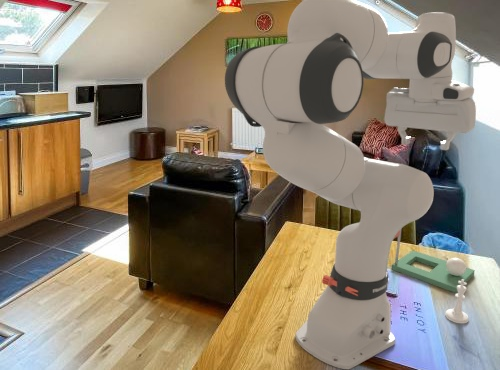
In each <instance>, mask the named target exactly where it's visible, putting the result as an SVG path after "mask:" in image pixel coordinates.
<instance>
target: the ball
mask: <svg viewBox="0 0 500 370" xmlns="http://www.w3.org/2000/svg"><path fill="white" fill-rule="evenodd" d="M446 261H447V263H446V269H447V271H448V272H449V273H450V274H451V275H454V276H460V275H462V274H464V273H465V271H466V268H467V265H466V262H465V261H464V260H463V259H461V258H459V257H450V258H449V259H448V260H446Z"/></svg>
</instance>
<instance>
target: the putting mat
mask: <svg viewBox="0 0 500 370" xmlns="http://www.w3.org/2000/svg"><path fill="white" fill-rule="evenodd" d="M402 228H403V227H402ZM402 228H401V229H400V230H399V231H398V232H397V234H396V235H395V237H394V239H396V238H397V243H396V251H395V252H396V253H395V258H394V259H395V261H394V262H393V263H392V264H391V270H394V271H396V272H398V273H400V274H403V275H407V276H409V277H412V278H413V279H417V280H420V281H422V282H424V283H428V284H431V285H433V286H436V287H438V288H441V289H444V290H445V291H446V290H447V291H449V292H452V293H455V294H458V290H457V286H458V285H461V284H460V283H458V281H462V279H464V282H465V283H468V282H469V280H471V279H472V278H473V277H474V275H475V271H476V270H475V269H473V268H469V267H466V271H465V273H464V274H462V275H460V276H454V275H451V274H450V273H449V272H448V271H447V269H446V263H447V261H448V260H445V259H441V258H438V257H435V256H432V255H428V254H425V253H424V252H423V253H422V252H419V251H416V250H412V251H410V252H408V253H407V254H405V255H404V256H403V257H400V258H399V254H400V245H401V238H402ZM414 262H417V263H421V264H424V265H426V266H430V267H433V269H431V270H430V271H429V270H428V271H427V270H424V269H422V268H419V267H416V266H413V265H411V264H413V263H414Z"/></svg>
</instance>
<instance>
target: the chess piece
mask: <svg viewBox="0 0 500 370" xmlns="http://www.w3.org/2000/svg"><path fill="white" fill-rule="evenodd" d="M458 283H460V284H461V285H458V286H457V290H458V292H457V293H455V295H454V297H455V298H456V302H455V305H454V307H453V308H449V309H447V310H445V317H446V319H448V320H449V321H451V322H454V323H455V324H467V323H468V322H469V315H468V314H467V313H466V312H465V311H463V300H465V299H466V296H465V295H464V294H465V293H466V291H467V284H468V282H466V283H465V282H464V279H462V281H458Z"/></svg>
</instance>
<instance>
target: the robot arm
mask: <svg viewBox="0 0 500 370" xmlns="http://www.w3.org/2000/svg"><path fill="white" fill-rule="evenodd" d="M456 30H457V29H456V17H455V16H454V15H453V14H452V13H449V12H440V11H436V12H435V11H434V12H432V11H431V12H427V13H426V12H425V13H422V14H420V15H419V16H418V17H417V19H416V22H415V26H414V29H411V31H399V32H389V30H388V25H387V22H386V19H385V18H384V16H382V14H381V13H380V12H379V11H378V10H377V9H375V8H373V7H372V6H370V5H368V4H365V3H363V2H360V1H357V0H302V1H301V2H300V3H299V4H298V5H297V6H296V7H295V8H294V10H293V11H292V13H291V15H290V17H289V20H288V24H287V31H286V32H287V33H286V34H287V41H286V43H276V44H271V45H269V44H268V45H266V46H252V47H249V48H245V49H243V50H242V51H240V52H238V53H236V54H235V55H234V56H233V57H232V58H231V60H230V61H229V62H228V64H227V67H226V69H225V73H224V87H225V90H226V94H227V96H228V99H229V100H230V102H231V103H232V105H233V106H234V107H235V108H236V109H237V110H238V111H239V112H240V114H242V115H243V118H244V119H245V120H246V122H247V123H248V124H249V126H251V127H254V128H258V127H259V128H260V127H261V128H263V130H264V139H263V142H262V153H263V157H264V161H265V162H266V164H267V165H268V167H270V169H271V170H273V171H274V172H275V173H276V174H278V175H279V176H280V177H282V178H283V179H285V180H286V181H288V182H290V183H291V184H293V185H294V186H297V187H298V188H301V189H304V190H306V191H309V192H311V193H314V194H316V195H317V196H319V197H321V198H323V199H325V200H326V201H328V202H331V203H332V204H334V205H338V206H342V207H345V208H348V209H352V210H356V211H359V212H360V220H359V222H356V223H351V224H349V225H346V226H344V227H343V228H342V229H341V230H340V231H339V233H338V234H337V236H336V238H335V239H336V243H335V254H334V255H335V256H334V257H335V258H334V263H333V265H332V269H331V270H330V275H328V274H325V275H323V276H322V278H321V279H322V281H321V283H322V284H323V285H326V287H325V289H324V290H323V291H322V293H321V295H320V296H319V298H318V299H317V301H316V302H315V303H314V305H313V307H312V308H311V310H310V311H309V314H308V316H307V317H308V318H307V320H306V321H305V322H304V323H303V324H302V326H301V327H299V329H298V330H297V331H296V332H295V336H294V337H295V341H296V342H297V343H298V344H299V346H300V347H302V349H303V350H305V351H306V352H307V353H308V354H310V355H311V356H313V357H314V358H316V359H317V360H320V361H321V362H323V363H325V364H327V365H330V366H332V367H334V368H338V369H340V370H341V369H343V370H350V369H353V368H354V367H356V366H358V365H360V364H361V363H362V364H363V362H365V361H367V360H369V359H371V358H373V357H374V356H375V355H378V354H381V352H383V351H385V350H387V349H389V348H390V347H392V346H394V345H395V344H396V338H395V335H394V334H393V333H392V331H391V330H392V329H391V327H392V325H391V323H392V322H391V321H392V304H391V302H390V300H389V297H388V296H387V290H388V285H389V282H390V281H389V272H388V264H389V257H390V251H391V246H392V244H393V242H394V241H393V240H394V239H395V238H394V237H395V235H396V234H397V232H398V231H399V230H400V229H401V228H404V227H405V226H406V225H408V224H410V223H412V222H415V221H418V220H419V219H420V218H422V217H423V216H424V215H425V214H427V212H428V210H429V209H430V208H431V206H432V204H433V201H434V194H435V193H434V192H435V190H434V185H433V182H432V180H431V178H430V176H429V175H428V174H427V173H426V172H424V171H422V170H420V169H417V168H415V167H412V166H409V165H407V164H404V163H397V162H393V161H387V160H381V159H375V158H369V157H365V155H364V154H363V152H362V150H361V149H360V147H359V146H358V145H356V144H355V143H353V142H351V141H350V140H348V139H347V138H345V137H344V136H343V135H341V134H339V133H338V132H336V131H334V130H333V129H332V128H330V127H328V126H326V125H325V124H334V123H338V122H341V121H344V120H346V119H348V117H350V116H351V114H352V113H353V111H355V109H356V108H357V107H358V104H359V102H360V101H361V97H362V94H363V89H364V79H366V80H380V79H384V80H385V79H393V80H396V79H397V80H402V79H403V80H409V87H408V88H407V87H406V88H405V87H402V88H401V87H400V88H398V87H393V88H392V89H390V90H389V91H388V92H386V107H385V111H384V123H385V124H386V126H390V127H397V132H398V134H399V136H400V138H401V145H404V146H405V145H406V146H408V145H410V144H411V136H408V135H407V132H406V130H408V128H409V129H418V130H419V129H420V130H430V131H437V132H439V131H440V132H446V137H447V138H446V139H445V140H443V141H440V146H439V147H440V148H439V149H440V150H441V151H448V150H450V145H451V142H452V141H453V140H454V138H455V137H456V136H457V133H458V134H459V133H460V134H467V133H470V132H471V131H472V130H473V129H474V128H475V126H476V116H477V115H476V114H477V111H476V102H475V101H474V99H473V98H472V96H474V93H475V88H474V87H473V86H471V85H468V84H465V83H462V82H459V81H456V80H453V70H452V63H453V60H454V57H455V55H456V54H455V53H456V44H457V43H456V40H457V34H456V33H457V31H456ZM401 230H402V229H401Z"/></svg>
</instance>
